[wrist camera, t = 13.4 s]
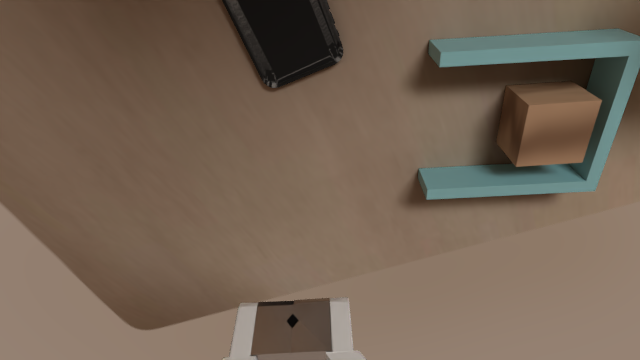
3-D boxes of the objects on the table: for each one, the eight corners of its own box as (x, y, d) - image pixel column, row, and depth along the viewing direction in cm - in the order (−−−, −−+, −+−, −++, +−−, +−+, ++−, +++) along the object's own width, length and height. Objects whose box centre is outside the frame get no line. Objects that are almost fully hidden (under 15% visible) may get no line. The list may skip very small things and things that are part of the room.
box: (429, 40, 36) (441, 52, 33) (618, 28, 36) (649, 39, 32) (417, 178, 44) (426, 199, 40) (573, 169, 43) (595, 191, 40)
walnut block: (505, 85, 39) (529, 105, 34) (570, 80, 38) (602, 100, 34) (495, 141, 42) (516, 166, 38) (555, 137, 42) (582, 162, 37)
